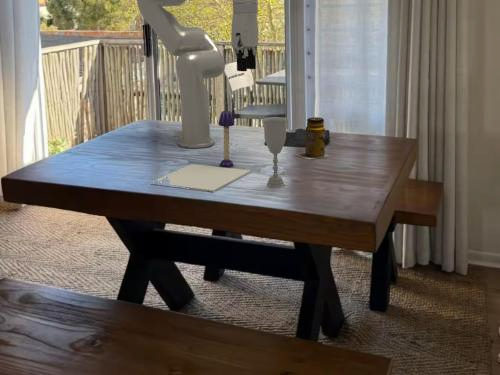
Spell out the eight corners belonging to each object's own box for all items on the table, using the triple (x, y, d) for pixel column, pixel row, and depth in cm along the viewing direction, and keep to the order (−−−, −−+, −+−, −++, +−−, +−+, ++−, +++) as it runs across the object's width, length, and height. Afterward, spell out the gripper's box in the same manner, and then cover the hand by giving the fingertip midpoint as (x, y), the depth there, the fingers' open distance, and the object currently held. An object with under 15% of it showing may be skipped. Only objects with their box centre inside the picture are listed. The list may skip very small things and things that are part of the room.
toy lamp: (237, 164, 205) (236, 110, 200) (231, 168, 201) (230, 113, 196) (222, 163, 206) (220, 109, 202) (217, 167, 202) (215, 112, 197)
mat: (150, 184, 185) (150, 182, 185) (192, 165, 204) (191, 163, 204) (213, 192, 177) (213, 190, 177) (250, 172, 196) (250, 170, 195)
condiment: (330, 156, 213) (330, 118, 210) (309, 160, 209) (309, 122, 205) (315, 152, 219) (316, 115, 216) (295, 155, 215) (295, 118, 211)
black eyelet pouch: (272, 137, 244) (272, 124, 242) (332, 140, 238) (332, 126, 236) (261, 146, 229) (261, 133, 228) (325, 149, 224) (325, 135, 222)
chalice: (261, 181, 186) (260, 117, 181) (286, 180, 186) (285, 116, 181) (264, 189, 179) (263, 122, 174) (289, 188, 180) (289, 121, 174)
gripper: (247, 8, 212) (248, 66, 217) (220, 10, 197) (222, 72, 202) (268, 8, 208) (269, 67, 213) (243, 10, 194) (244, 73, 199)
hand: (246, 69), depth 208 cm, fingers open, 5 cm apart
